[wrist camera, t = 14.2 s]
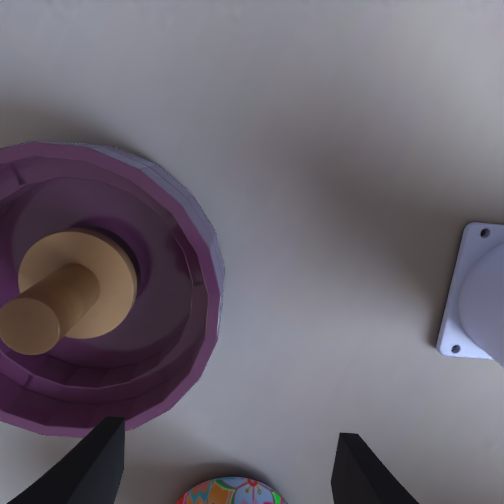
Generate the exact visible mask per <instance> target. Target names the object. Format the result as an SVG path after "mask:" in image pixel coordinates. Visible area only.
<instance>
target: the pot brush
mask: <svg viewBox="0 0 504 504" xmlns="http://www.w3.org/2000/svg"><path fill="white" fill-rule="evenodd" d="M140 279H141V273H140V266H139V263H138V260H137V258H136V255H135V254H134V252H133V250H132V249H131V248H130V246H129V245H128V244H127V243H126V242H125V241H124V240H123V239H121V238H120V237H119V236H117V235H116V234H114V233H112V232H110V231H108V230H105V229H102V228H98V227H90V226H85V227H78V228H71V229H64V230H60V231H57V232H54V233H52V234H50V235H48V236H46V237H44V238H42V239H40V240H39V241H37V242H36V243H35V244H34V245H33V246H32V247H31V248H30V249H29V250H28V251H27V253H26V254H25V256H24V258H23V260H22V262H21V265H20V268H19V274H18V285H19V291H20V294H19V295H18V296H16V297H15V298H13V299H12V300H10V301H9V302H7V303H6V304H5V305H4V306H3V307H2V308H1V309H0V337H1V339H2V340H3V342H4V343H5V344H6V345H7V346H9V347H10V348H11V349H13V350H15V351H16V352H19V353H22V354H26V355H38V354H42V353H45V352H47V351H49V350H51V349H52V348H53V347H54V346H55V345H56V344H57V343H58V342H59V341H60V340H61V339H62V338H63V337H64V336H66V337H70V338H78V339H85V338H93V337H98V336H101V335H104V334H106V333H108V332H110V331H111V330H113V329H114V328H116V327H117V326H118V325H119V324H120V323H121V322H122V321H123V320H124V319H125V317H126V316H127V314H128V313H129V311H130V310H131V308H132V306H133V304H134V302H135V299H136V295H137V292H138V289H139V286H140Z"/></svg>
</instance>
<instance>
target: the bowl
mask: <svg viewBox="0 0 504 504" xmlns="http://www.w3.org/2000/svg"><path fill="white" fill-rule="evenodd" d="M85 226H90V227H98V228H102V229H105V230H108V231H110V232H112V233H114V234H116V235H117V236H119V237H120V238H121V239H123V240H124V241H125V242H126V243H127V244H128V245H129V246H130V248H131V249H132V250H133V252H134V254H135V255H136V258H137V260H138V263H139V266H140V273H141V279H140V286H139V289H138V292H137V295H136V299H135V302H134V304H133V306H132V308H131V310H130V311H129V313H128V314H127V316H126V317H125V319H124V320H123V321H122V322H121V323H120V324H119V325H118V326H117V327H116V328H114V329H113V330H111V331H110V332H108V333H106V334H104V335H101V336H98V337H93V338H85V339H78V338H70V337H66V336H64V337H63V338H62V339H61V340H60V341H59V342H58V343H57V344H56V345H55V346H54V347H53V348H52V349H51V350H49V351H47V352H45V353H42V354H38V355H26V354H22V353H19V352H16V351H15V350H13V349H11V348H10V347H9V346H7V345H6V344H5V343H4V342H3V340H2V339H1V337H0V421H2V422H5V423H8V424H11V425H14V426H17V427H20V428H23V429H26V430H29V431H32V432H35V433H38V434H41V435H48V436H62V437H77V438H84V437H85V436H86V435H87V434H88V433H89V432H90V431H91V430H92V429H93V428H94V427H95V426H96V425H97V424H98V423H99V422H100V421H101V420H102V419H103V418H105V417H106V416H113V417H125V431H128V430H132V429H135V428H137V427H139V426H140V425H142V424H144V423H146V422H148V421H150V420H152V419H154V418H155V417H157V416H159V415H161V414H163V413H165V412H167V411H169V410H170V409H171V408H172V407H173V406H174V405H175V404H176V403H177V402H178V401H179V400H180V399H181V398H182V397H183V396H184V395H185V394H186V393H187V392H188V390H189V389H190V388H191V387H192V386H193V385H194V384H195V383H196V382H197V381H198V380H199V379H200V377H201V375H202V373H203V371H204V369H205V366H206V364H207V362H208V360H209V358H210V355H211V353H212V351H213V349H214V347H215V345H216V342H217V339H218V333H219V325H220V318H221V310H222V301H223V289H224V277H225V271H224V270H225V268H224V264H223V260H222V256H221V252H220V248H219V244H218V240H217V236H216V232H215V229H214V228H213V226H212V225H211V223H210V221H209V220H208V218H207V217H206V215H205V213H204V212H203V210H202V209H201V207H200V205H199V204H198V202H197V201H196V199H195V197H194V196H193V195H192V194H191V193H190V192H189V191H188V190H187V189H186V188H185V187H183V186H182V185H181V184H180V183H179V182H178V181H176V180H175V179H174V178H173V177H172V176H171V175H169V174H168V173H167V172H166V171H165V170H164V169H162V168H161V167H160V166H158V165H157V164H155V163H152V162H150V161H148V160H145V159H143V158H141V157H138V156H136V155H134V154H131V153H129V152H127V151H125V150H122V149H120V148H116V147H113V146H103V145H93V144H83V143H73V142H39V141H33V142H26V143H22V144H18V145H14V146H9V147H5V148H1V149H0V309H1V308H2V307H3V306H4V305H5V304H6V303H7V302H9V301H10V300H12V299H13V298H15V297H16V296H18V295H19V294H20V291H19V285H18V274H19V268H20V265H21V262H22V260H23V258H24V256H25V254H26V253H27V251H28V250H29V249H30V248H31V247H32V246H33V245H34V244H35V243H36V242H37V241H39V240H40V239H42V238H44V237H46V236H48V235H50V234H52V233H54V232H57V231H60V230H64V229H71V228H78V227H85Z"/></svg>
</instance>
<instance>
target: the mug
mask: <svg viewBox="0 0 504 504" xmlns="http://www.w3.org/2000/svg"><path fill="white" fill-rule="evenodd" d="M176 504H288V503H287V502H286V501H285V500H284V498H283V497H282V496H281V495H280V494H278V493H277V492H276V491H275V490H273V489H272V488H270V487H269V486H267V485H265V484H263V483H261V482H258V481H255V480H252V479H248V478H242V477H222V478H216V479H212V480H208V481H205V482H203V483H201V484H199V485H197V486H195V487H193V488H192V489H190V490H189V491H187V492H186V493H185V494H184V495H183V496H182V497H181V498H180V499H179V500H178V501H177V502H176Z"/></svg>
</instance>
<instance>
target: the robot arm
mask: <svg viewBox="0 0 504 504" xmlns="http://www.w3.org/2000/svg"><path fill="white" fill-rule="evenodd" d="M483 229H485V230H486V233H485V234H484V235H483V236H481V235H480V233H481V231H482V230H483ZM454 345H457V347H456V348H455V349H454V350H451V348H452V347H453V346H454ZM436 348H437V350H438V351H439V352H440V353H441V354H442V355H445V356H456V357H468V358H481V359H493V360H495V361H496V362H498V363H499V364H500V365H501V366H502V367H504V225H499V224H488V223H478V222H472V223H470V224H468V225H467V226H466V227H465V229H464V232H463V236H462V240H461V245H460V249H459V253H458V257H457V261H456V265H455V270H454V274H453V278H452V282H451V286H450V290H449V295H448V299H447V303H446V307H445V311H444V315H443V320H442V324H441V328H440V332H439V336H438V341H437V345H436ZM124 442H125V417H113V416H106V417H105V418H103V419H102V420H101V421H100V422H99V423H98V424H97V425H96V426H95V427H94V428H93V429H92V430H91V431H90V432H89V433H88V434H87V435H86V436H85V437H84V438H83V439H82V440H81V441H80V442H79V443H78V444H77V445H76V446H75V447H74V448H73V449H72V450H71V451H70V452H69V453H68V454H66V455H65V456H64V457H63V458H62V459H61V460H60V461H59V462H58V463H57V464H56V465H54V466H53V467H52V468H51V469H50V470H49V471H47V472H46V473H45V474H44V475H43V476H41V477H40V478H39V479H38V480H37V481H36V482H34V483H33V484H32V485H31V486H29V487H28V488H27V489H26V490H24V491H23V492H22V493H20V494H19V495H18V496H16V497H15V498H14V499H12V500H11V501H10V502H8V503H7V504H114V501H115V498H116V494H117V491H118V488H119V484H120V481H121V477H122V474H123V470H124ZM331 486H332V493H333V499H334V504H419V503H418V502H417V501H416V500H415V499H414V498H413V497H412V496H411V495H410V494H409V493H408V491H407V490H406V489H405V488H404V487H403V486H402V485H401V484H400V483H399V482H398V481H397V480H396V478H395V477H394V476H393V475H392V474H391V473H390V472H389V470H388V469H387V468H386V467H385V466H384V465H383V463H382V462H381V461H380V460H379V459H378V458H377V456H376V455H375V454H374V453H373V452H372V450H371V449H370V448H369V447H368V446H367V444H366V443H365V442H364V441H363V439H362V438H361V437H360V436H359V435H358V434H354V433H340V435H339V440H338V446H337V451H336V456H335V462H334V467H333V473H332V478H331Z"/></svg>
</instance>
